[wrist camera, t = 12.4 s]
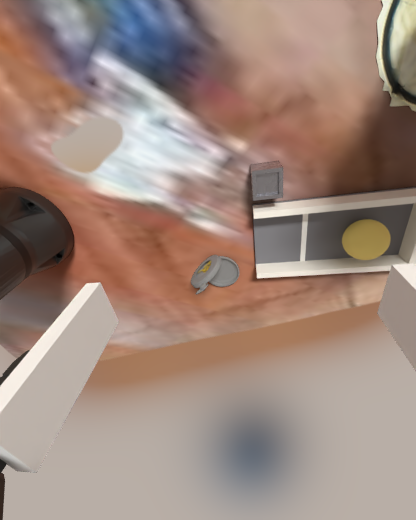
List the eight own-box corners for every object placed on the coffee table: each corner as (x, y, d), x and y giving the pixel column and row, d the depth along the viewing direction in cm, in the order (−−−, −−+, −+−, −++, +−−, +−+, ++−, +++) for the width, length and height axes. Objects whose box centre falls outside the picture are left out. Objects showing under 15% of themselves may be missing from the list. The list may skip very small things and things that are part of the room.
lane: (255, 266, 45) (257, 278, 42) (252, 204, 38) (253, 212, 35) (401, 257, 41) (413, 269, 38) (423, 185, 34) (441, 193, 31)
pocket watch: (234, 286, 48) (233, 325, 39) (192, 277, 47) (182, 314, 39) (246, 252, 43) (248, 287, 35) (199, 241, 43) (190, 274, 35)
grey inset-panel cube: (251, 191, 37) (253, 200, 34) (250, 164, 35) (251, 171, 32) (278, 188, 37) (282, 197, 33) (278, 160, 35) (283, 167, 31)
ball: (334, 248, 40) (347, 269, 35) (339, 215, 37) (354, 232, 32) (374, 246, 39) (393, 266, 34) (382, 211, 36) (405, 228, 31)
